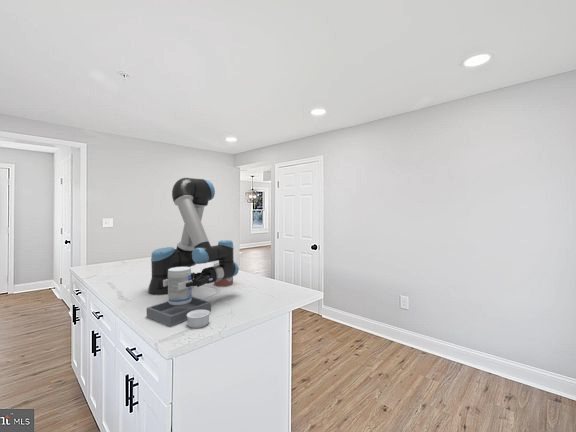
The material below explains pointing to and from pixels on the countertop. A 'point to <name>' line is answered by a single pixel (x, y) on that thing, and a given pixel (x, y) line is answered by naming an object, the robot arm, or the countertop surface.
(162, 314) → the tray
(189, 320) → the ramekin
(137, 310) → the countertop surface
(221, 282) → the canned food
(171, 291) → the supplement tub
